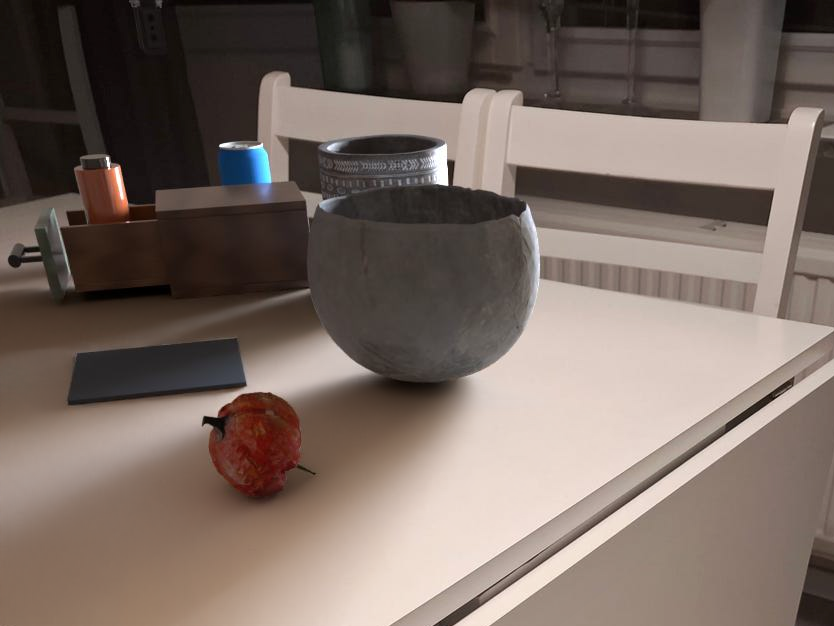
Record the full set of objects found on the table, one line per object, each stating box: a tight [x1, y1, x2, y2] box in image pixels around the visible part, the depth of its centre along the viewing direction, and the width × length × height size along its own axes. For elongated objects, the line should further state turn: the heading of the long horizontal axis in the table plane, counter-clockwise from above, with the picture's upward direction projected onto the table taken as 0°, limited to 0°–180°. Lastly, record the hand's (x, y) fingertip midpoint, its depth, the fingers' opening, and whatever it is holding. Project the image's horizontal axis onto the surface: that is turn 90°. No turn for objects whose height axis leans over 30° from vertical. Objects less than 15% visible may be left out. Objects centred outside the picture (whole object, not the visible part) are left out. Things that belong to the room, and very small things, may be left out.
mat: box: [66, 337, 248, 406], centre depth 97 cm, size 16×14×1 cm
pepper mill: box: [73, 153, 132, 225], centre depth 116 cm, size 5×5×12 cm
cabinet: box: [155, 180, 311, 300], centre depth 121 cm, size 17×13×9 cm
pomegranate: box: [201, 391, 317, 498], centre depth 74 cm, size 7×7×10 cm
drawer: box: [7, 203, 170, 300], centre depth 118 cm, size 20×12×7 cm, turn 104°
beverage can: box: [217, 140, 272, 186], centre depth 134 cm, size 6×6×12 cm
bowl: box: [307, 184, 541, 384], centre depth 90 cm, size 20×20×15 cm
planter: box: [317, 133, 449, 201], centre depth 115 cm, size 14×14×15 cm
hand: (153, 52), depth 103 cm, fingers open, 8 cm apart
